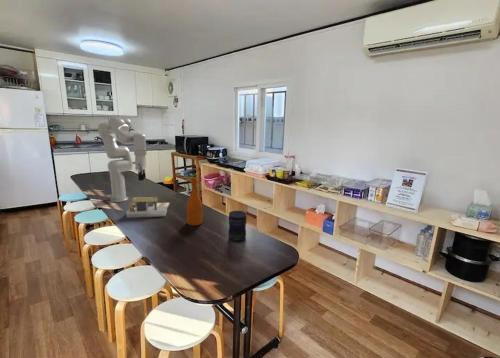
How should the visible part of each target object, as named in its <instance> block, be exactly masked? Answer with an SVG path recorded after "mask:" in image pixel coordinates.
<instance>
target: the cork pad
mask: <svg viewBox="0 0 500 358" xmlns="http://www.w3.org/2000/svg"><path fill="white" fill-rule="evenodd" d="M157 206H167V209H168V208H169V206H170V202H157ZM151 207H154V203H153V205H152V206H151Z"/></svg>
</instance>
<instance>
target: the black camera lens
mask: <svg viewBox="0 0 500 358" xmlns="http://www.w3.org/2000/svg"><path fill="white" fill-rule="evenodd" d="M246 227H247V212H245V211H242V210H232V211H229V213H228V241H229V242H230V243H233V242H234V244H240V243H244V242H245V241H247V240H246V239H247V238H246V237H247V228H246Z"/></svg>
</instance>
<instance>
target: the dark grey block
mask: <svg viewBox="0 0 500 358" xmlns="http://www.w3.org/2000/svg"><path fill="white" fill-rule="evenodd" d="M135 206H136V207H137V211H139V210H147V209H148V207H149V202H135Z"/></svg>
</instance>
